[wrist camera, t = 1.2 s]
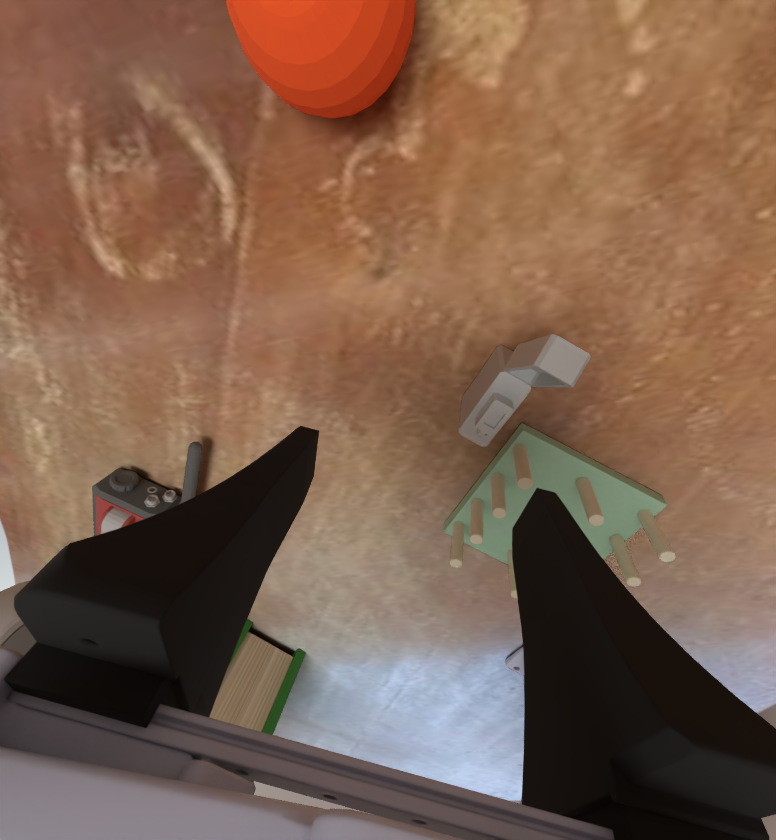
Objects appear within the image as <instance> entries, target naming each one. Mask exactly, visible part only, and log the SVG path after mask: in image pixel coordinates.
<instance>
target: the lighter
mask: <svg viewBox="0 0 776 840" xmlns="http://www.w3.org/2000/svg"><path fill="white" fill-rule="evenodd" d="M590 358H591V355H590V354H589V353H587V352H585V351H583V350H582V349H580V348H578V347H576V346H575V345H573V344H571V343H569V342H568V341H566V340H564V339H563V338H561V337H559V336H557V335H553V334H550V335H547V336H544V337H540V338H537V339H534V340H531V341H528V342H525V343H522V344H519V345H517V347H516V348H515V350H514V352H513V351H511V350H510V349H508V348H506V347H504V346H503V345H500V346H497V347H496V349H495V350H494V352H493V353H492V355H491V356H490V358H489V359H488V360H487V362H486V363H485V365H484V366H483V368H482V369H481V371H480V372H479V374H478V375H477V376H476V378H475V379H474V381H473V382H472V384H471V385H470V387H469V388H468V390H467V391H466V392H465V394H464V395H463V397H462V403H461V412H460V421H459V434H460V435H462V436H464V437H465V438H467V439H469V440H471V441H473V442H474V443H476V444H478V445H480V446H482V447H485V446H487V445H488V444H489V443H490V442H491V440H492V439H493V438H494V436H495V435H496V434H497V433H498V431H499V430H500V429H501V428H502V426H503V425H504V424H505V423H506V421H507V420H508V419H509V418H510V416H511V415H512V414H513V413H514V411H515V410H516V409H517V408H518V406H519V405H520V404H521V402H522V401H523V400H524V399H525V397H526V396H527V395H528V394H529V392H530V391H531V386H532V387H539V388H573V387H574V385H575V383H576V382H577V380H578V378H579V377H580V375H581V373H582V372H583V370H584V368H585V367H586V365H587V363H588V362H589V360H590Z"/></svg>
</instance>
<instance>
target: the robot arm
mask: <svg viewBox="0 0 776 840" xmlns="http://www.w3.org/2000/svg"><path fill="white" fill-rule="evenodd" d="M318 435H319V431H318V430H314V429H310V428H306V427H303V426H300V427H298V428H297V429H295V430H294V431H293V432H292V433H291V434H289V435H288V436H287V437H286V438H285V439H283V440H282V441H281V442H280V443H278V444H277V445H276V446H274V447H273V448H272V449H271V450H269V451H268V452H266V453H265V454H264V455H262V456H261V457H260V458H258V459H257V460H256V461H254V462H253V463H251V464H250V465H248V466H247V467H245V468H244V469H242V470H241V471H239V472H237V473H236V474H234V475H233V476H231V477H230V478H228V479H226V480H225V481H223V482H221V483H220V484H218V485H216V486H214V487H213V488H211V489H209V490H207V491H205V492H203V493H201V494H200V495H198V496H195V497H193V498H191V499H189V500H187V501H185V502H183V503H181V504H179V505H177V506H175V507H172V508H170V509H168V510H166V511H163V512H161V513H158V514H156V515H153V516H151V517H148V518H146V519H143V520H141V521H138V522H135V523H133V524H130V525H127V526H124V527H121V528H119V529H116V530H112V531H109V532H106V533H103V534H100V535H97V536H93V537H90V538H87V539H84V540H81V541H77V542H74V543H70V544H69V545H68V546H66V547H65V548H64V549H63V550H62V551H61V552H59V553H58V554H57V555H56V556H55V557H54V558H53V559H52V560H51V561H50V562H49V563H48V564H47V565H46V566H45V567H44V568H43V569H42V570H41V571H40V572H39V573H38V574H37V575H36V576H35V577H34V578H33V579H32V580H31V581H30V582H29V583H27V584H26V585H25V586H24V587H23V588H22V589H21V590H20V591H19V592H18V593H17V594H16V595H15V596H14V609H15V611H16V613H17V615H18V616H19V618H20V619H21V621H22V622H23V623H24V625H25V626H26V627H27V629H28V630H29V632H30V633H31V634H32V636H33V637H34V639H35V640H36V641H37V642H36V643H35V644H34V645H33V646H32V648H31V649H30V650H29V651H28V652H27V653H26V654H25V656H23V655H22V654H21V653H19V652H17V651H15V650H13V649H10V648H8V647H5V646H1V645H0V840H769V835H768V833H767V831H766V829H765V826H764V824H763V822H762V820H761V818H763V817H767V816H770V815H774V814H776V729H775V728H774V727H773V726H772V725H770V724H769V723H768V722H767V721H766V720H764V719H763V718H762V717H761V716H759V715H758V714H757V713H756V712H754V711H753V710H752V709H751V708H750V707H748V706H747V705H746V704H745V703H743V702H742V701H741V700H740V699H738V698H737V697H736V696H735V695H734V694H733V693H731V692H730V691H729V690H728V689H727V688H726V687H724V686H723V685H722V684H721V683H720V682H719V681H718V680H717V679H715V678H714V677H713V676H712V675H711V674H710V673H709V672H708V671H706V670H705V669H704V668H703V667H702V666H701V665H700V664H699V663H698V662H697V661H696V660H694V659H693V658H692V657H691V656H690V655H689V654H688V653H687V652H686V651H685V650H684V649H683V648H682V647H681V646H680V645H679V644H678V643H677V642H676V641H675V640H674V639H673V638H672V637H671V636H670V635H669V634H668V633H667V632H666V631H665V630H664V629H663V628H662V627H661V626H660V625H659V624H658V623H657V622H656V621H655V620H654V619H653V618H652V617H651V616H650V615H649V614H648V612H647V611H646V610H645V609H644V608H643V607H642V606H641V605H640V604H639V602H638V601H637V600H636V599H635V598H634V597H633V596H632V595H631V593H630V592H629V591H628V590H627V589H626V588H625V586H624V585H623V584H622V583H621V582H620V580H619V579H618V578H617V577H616V575H615V574H614V573H613V571H612V570H611V569H610V568H609V566H608V565H607V564H606V563H605V561H604V560H603V559H602V557H601V556H600V555H599V553H598V552H597V551H596V549H595V548H594V546H593V545H592V544H591V542H590V541H589V539H588V538H587V537H586V535H585V534H584V532H583V531H582V530H581V528H580V527H579V525H578V524H577V522H576V521H575V519H574V518H573V516H572V515H571V514H570V512H569V511H568V509H567V508H566V506H565V505H564V503H563V502H562V501H561V499H560V498H559V496H558V495H557V494H556V493H555V492H552V491H548V490H544V489H540V488H536V490H535V492H534V493H533V495H532V496H531V498H530V500H529V501H528V503H527V505H526V506H525V508H524V510H523V511H522V513H521V515H520V516H519V518H518V520H517V521H516V523H515V525H514V526H513V528H512V560H513V568H514V576H515V583H516V590H517V598H518V605H519V612H520V619H521V626H522V636H523V647H522V648H520V649H519V650H518V651H517V652H515V653H514V654H513V655H512V656H510V657H509V658H508V659H507V660H506V666H507V667H508V668H509V669H511V670H513V671H515V672H517V673H519V674H521V675H523V676H524V697H525V720H524V763H523V786H522V799H521V802H520V804H518V803H515V802H511V801H507V800H504V799H500V798H497V797H493V796H489V795H486V794H482V793H479V792H475V791H471V790H468V789H464V788H461V787H457V786H454V785H450V784H446V783H443V782H439V781H436V780H432V779H428V778H425V777H421V776H418V775H414V774H410V773H407V772H403V771H400V770H396V769H392V768H389V767H385V766H382V765H378V764H374V763H371V762H367V761H364V760H360V759H356V758H353V757H349V756H346V755H342V754H338V753H335V752H331V751H328V750H324V749H320V748H317V747H313V746H310V745H306V744H302V743H299V742H295V741H292V740H288V739H284V738H281V737H277V736H274V735H270V734H266V733H263V732H259V731H256V730H252V729H248V728H245V727H241V726H238V725H234V724H231V723H227V722H223V721H220V720H216V719H213V718H209V717H210V714H211V711H212V708H213V706H214V703H215V700H216V698H217V695H218V692H219V690H220V687H221V684H222V682H223V679H224V676H225V674H226V671H227V668H228V666H229V663H230V661H231V658H232V655H233V653H234V650H235V648H236V645H237V643H238V640H239V638H240V635H241V632H242V630H243V627H244V625H245V623H246V620H247V618H248V615H249V613H250V610H251V608H252V605H253V603H254V600H255V598H256V596H257V593H258V591H259V589H260V586H261V584H262V582H263V579H264V577H265V574H266V572H267V570H268V568H269V566H270V564H271V562H272V560H273V558H274V556H275V554H276V552H277V551H278V549H279V547H280V545H281V543H282V541H283V540H284V538H285V536H286V534H287V532H288V530H289V528H290V527H291V525H292V523H293V521H294V519H295V517H296V515H297V514H298V512H299V510H300V508H301V506H302V504H303V502H304V500H305V497H306V495H307V492H308V490H309V487H310V484H311V482H312V479H313V477H314V469H315V461H316V452H317V444H318ZM245 778H246V779H245ZM247 779H249V780H253V781H256V782H260V783H263V784H267V785H270V786H274V787H278V788H281V789H285V790H288V791H292V792H295V793H299V794H303V795H306V796H310V797H313V798H317V799H320V800H325V801H328V802H331V803H335V804H338V805H342V806H345V807H349V808H352V809H356V810H360V811H364V812H367V813H363V812H359V811H354V810H346V809H323V808H318V807H313V806H307V805H302V804H297V803H292V802H287V801H282V800H277V799H271V798H266V797H261V796H255V795H254V792H255V785H254V783H253V782H251V781H249V780H247ZM368 813H370V814H368ZM373 814H374V815H373ZM391 819H392V820H391ZM416 826H417V827H416ZM423 828H424V829H423ZM448 835H449V836H448Z"/></svg>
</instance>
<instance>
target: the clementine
mask: <svg viewBox="0 0 776 840" xmlns="http://www.w3.org/2000/svg"><path fill="white" fill-rule="evenodd" d="M226 3H227V8H228V12H229V15H230V17H231V20H232V23H233V26H234V28H235V31H236V33H237V36H238V38H239V41H240V44H241V46H242V49H243V51H244V54H245V55H246V57H247V58H248V60H249V61H250V63H251V65H252V66H253V68H254V69H255V71H256V72H257V74H258V76H259V77H260V78H261V79H262V80H263V81H264V82H265V83H266V84H267V85H268V86H269V87H270V88H271V89H272V90H273V91H274V92H275V93H276V94H277V95H278V96H279V97H280V98H281V99H282V100H283V101H284V102H285V103H287V104H289V105H291V106H292V107H294V108H296V109H298V110H300V111H302V112H303V113H305V114H310V115H316V116H322V117H327V118H339V117H345V116H351V115H354V114H356V113H358V112H359V111H361V110H363V109H365V108H367V107H369V106H371V105H372V104H373V103H374V102H375V101H376V100H377V99H378V98H379V97H380V96H381V95H382V94H383V93H384V92H385V91H386V90H387V89H388V88H389V86H390V85H391V83H392V81H393V80H394V78H395V76H396V75H397V73H398V71H399V70H400V68H401V67H402V64H403V61H404V58H405V56H406V53H407V50H408V47H409V44H410V41H411V38H412V32H413V25H414V18H415V11H416V0H226Z"/></svg>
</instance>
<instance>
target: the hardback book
mask: <svg viewBox="0 0 776 840" xmlns="http://www.w3.org/2000/svg"><path fill="white" fill-rule="evenodd" d="M252 624H253V623H252V622H251V621H249V620H246V623H245V625H244V627H243V630H242V632H241V635H240V638H239V640H238V643H237V645H236V648H235V650H234V653H233V655H232V658H231V661H230V663H229V666H228V668H227V671H226V674H225V676H224V679H223V682H222V684H221V687H220V690H219V692H218V695H217V698H216V700H215V703H214V706H213V708H212V711H211V714H210V717H209V718H213V719H216V720H220V721H223V722H227V723H231V724H234V725H238V726H241V727H245V728H248V729H252V730H256V731H259V732H263V733H266V734H270V735H273V732H274V730H275V727H276V725H277V722H278V720H279V718H280V715H281V713H282V710H283V708H284V705H285V703H286V700H287V698H288V695H289V693H290V690H291V688H292V685H293V683H294V680H295V678H296V675H297V673H298V670H299V668H300V666H301V663H302V661H303V658H304V656H305V652H303V651H302V650H300V649H297V650H296V652H295V653H294V654H293V655H292V656H290V655H289V654H287V653H285V652H283V651H282V650H280V649H278V648H276V647H274V646H273V645H271V644H269V643H267V642H266V641H264V640H262V639H260V638H259V637H257V636H255V635H253V634H251V633H250V632H248V631H249V629H250V627H251V626H252ZM245 779H246V778H245ZM247 780H249V779H247ZM249 781H251V782H254V781H253V780H249Z"/></svg>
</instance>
